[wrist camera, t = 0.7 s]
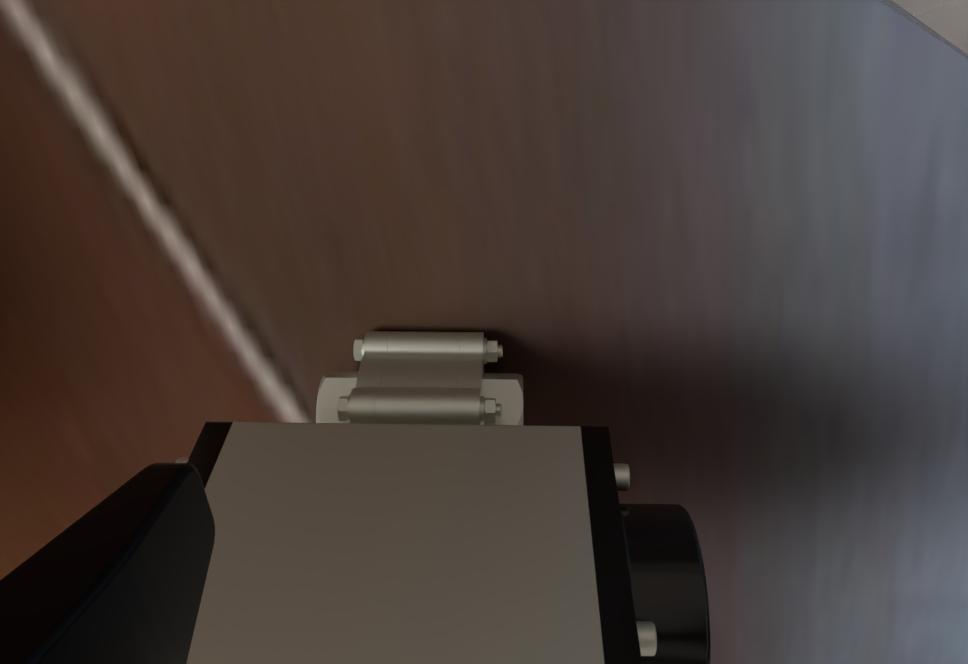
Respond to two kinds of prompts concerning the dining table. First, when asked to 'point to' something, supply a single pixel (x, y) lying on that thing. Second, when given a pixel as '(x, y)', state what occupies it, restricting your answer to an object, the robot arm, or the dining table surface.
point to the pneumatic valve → (437, 528)
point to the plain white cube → (938, 19)
